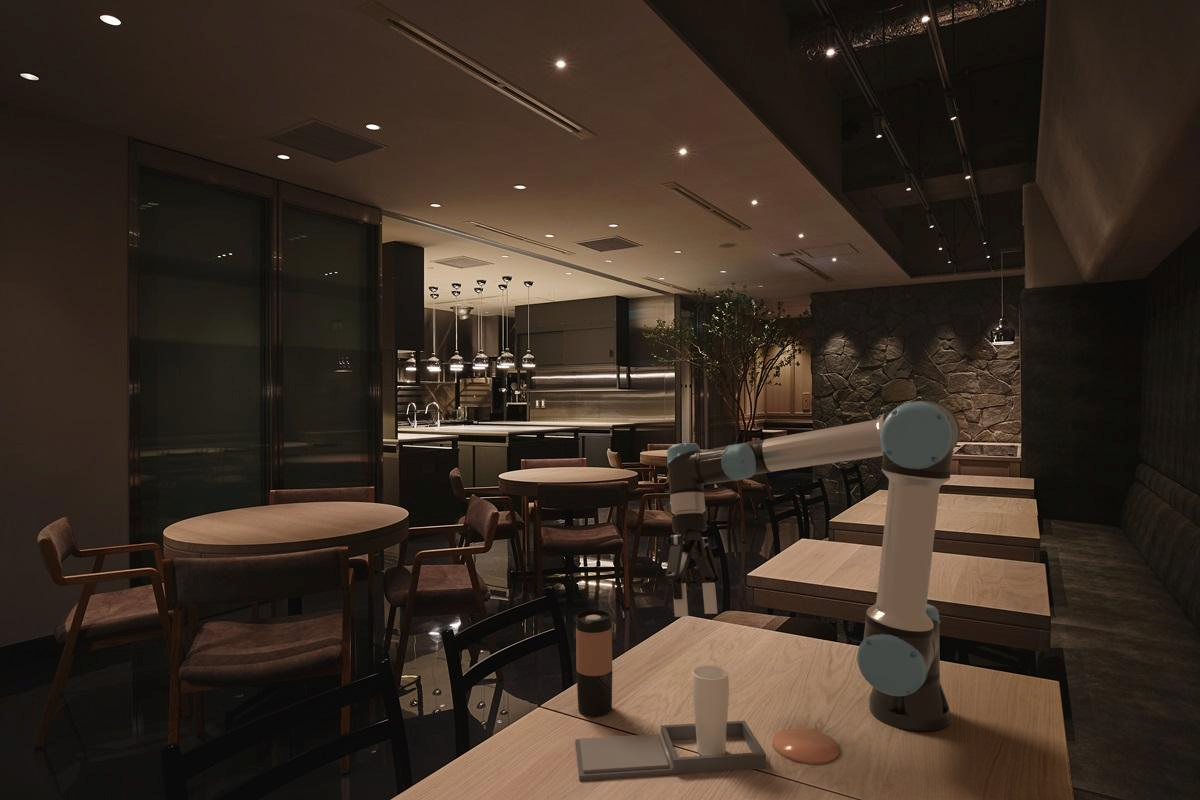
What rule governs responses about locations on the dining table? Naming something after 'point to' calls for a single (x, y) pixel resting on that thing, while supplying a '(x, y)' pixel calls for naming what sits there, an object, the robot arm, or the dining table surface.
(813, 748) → the coaster
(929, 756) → the dining table surface
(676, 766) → the open case
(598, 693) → the travel mug
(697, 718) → the drinking glass
